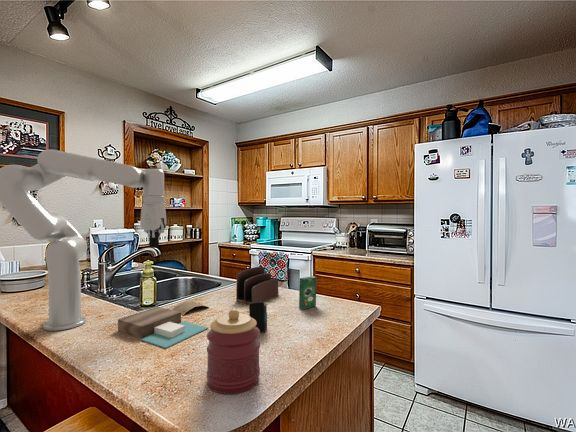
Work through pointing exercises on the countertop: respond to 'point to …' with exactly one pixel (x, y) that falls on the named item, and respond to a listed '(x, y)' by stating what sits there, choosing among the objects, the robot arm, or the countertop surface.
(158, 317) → the brown flat block
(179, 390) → the countertop surface
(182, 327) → the tile
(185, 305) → the clay tablet
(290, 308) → the countertop surface
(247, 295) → the letter holder
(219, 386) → the canister
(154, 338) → the mat
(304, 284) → the coffee box
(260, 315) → the speaker
